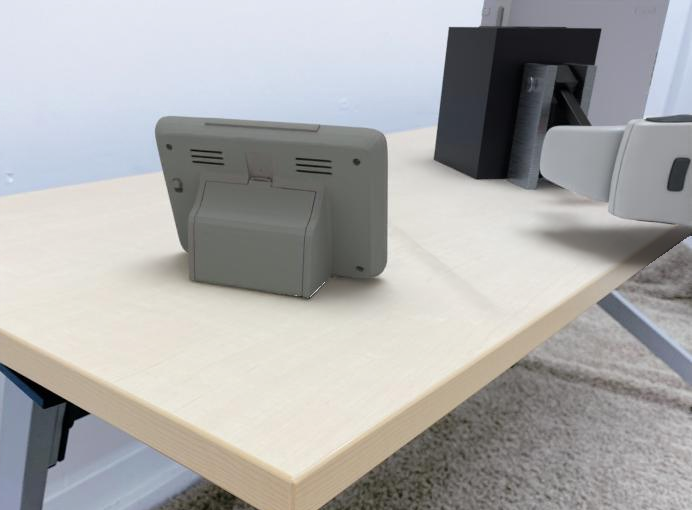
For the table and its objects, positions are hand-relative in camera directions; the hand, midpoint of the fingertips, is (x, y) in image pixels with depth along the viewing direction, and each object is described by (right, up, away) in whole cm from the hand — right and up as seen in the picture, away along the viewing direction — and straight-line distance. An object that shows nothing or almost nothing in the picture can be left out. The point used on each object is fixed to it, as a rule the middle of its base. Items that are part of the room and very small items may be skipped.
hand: (619, 139), depth 60 cm
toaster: (-3, +1, +21) cm, 22 cm away
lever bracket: (-1, -2, +13) cm, 14 cm away
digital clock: (-30, -12, -9) cm, 34 cm away
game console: (+10, +8, +37) cm, 39 cm away
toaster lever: (-1, +4, +7) cm, 8 cm away
